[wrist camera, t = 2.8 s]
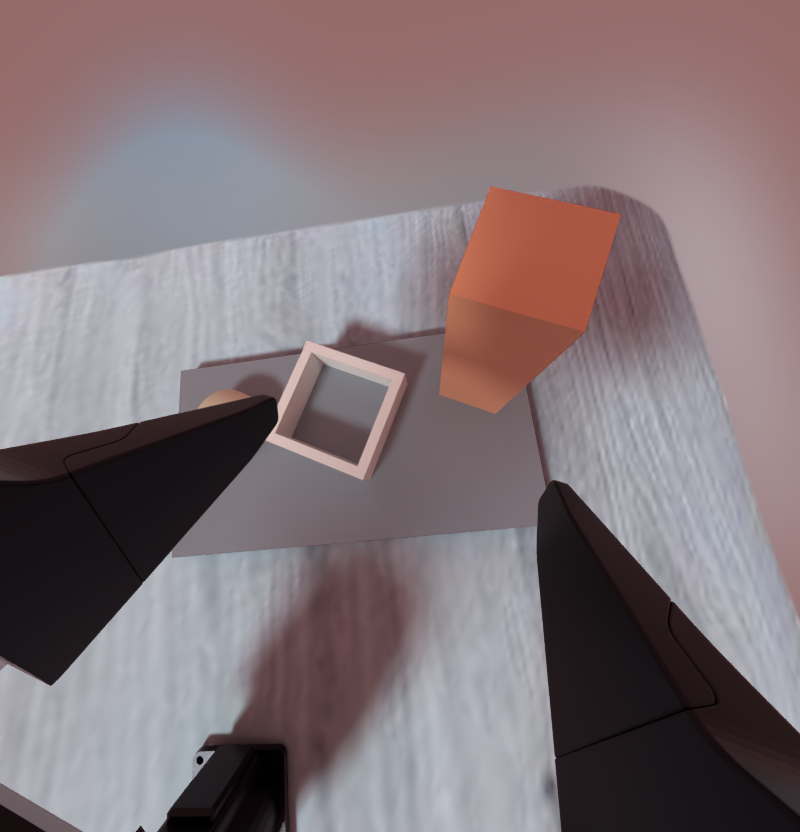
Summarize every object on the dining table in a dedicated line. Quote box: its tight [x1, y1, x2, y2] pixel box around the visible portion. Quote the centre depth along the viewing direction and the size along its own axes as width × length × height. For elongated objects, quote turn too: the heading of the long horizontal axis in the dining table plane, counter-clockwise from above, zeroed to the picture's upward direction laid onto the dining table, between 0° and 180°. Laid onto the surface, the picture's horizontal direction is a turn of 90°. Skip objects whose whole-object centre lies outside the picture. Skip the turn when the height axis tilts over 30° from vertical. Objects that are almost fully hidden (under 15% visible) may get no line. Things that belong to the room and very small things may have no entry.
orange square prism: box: [439, 187, 621, 414], centre depth 16 cm, size 4×4×13 cm
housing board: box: [172, 333, 546, 558], centre depth 22 cm, size 15×28×4 cm, turn 96°
